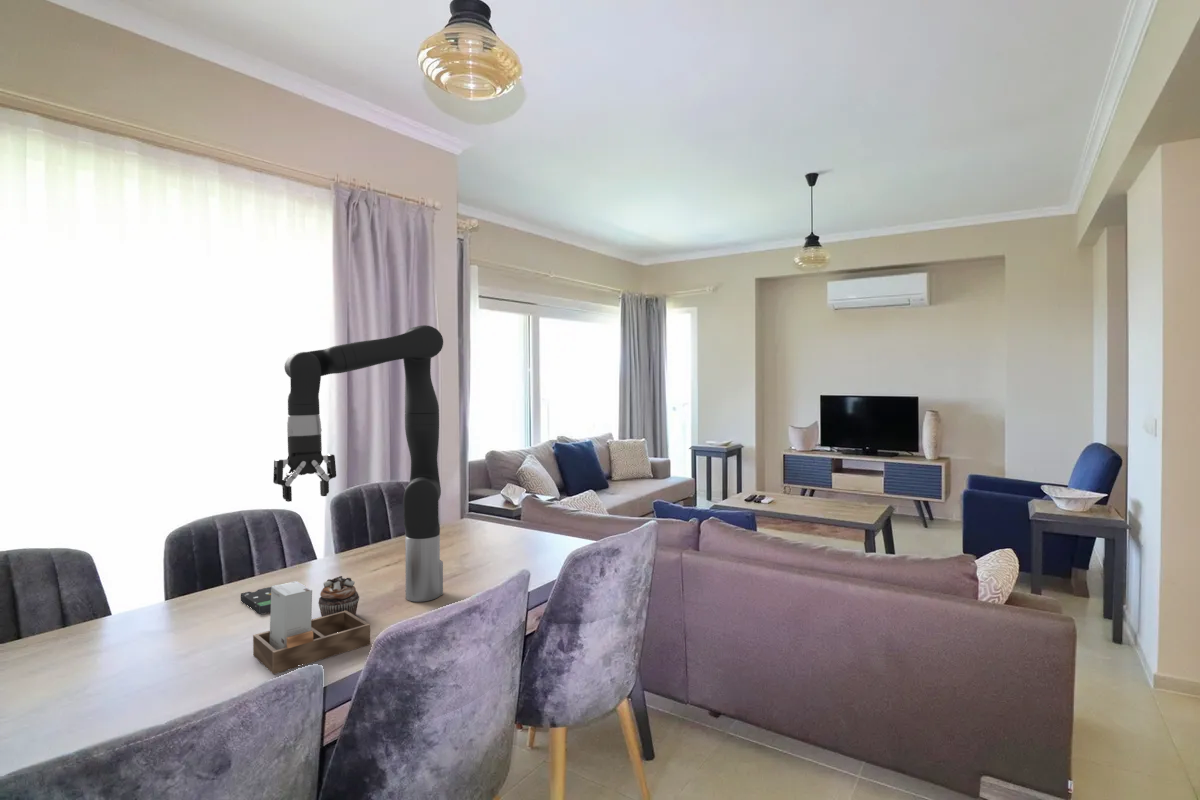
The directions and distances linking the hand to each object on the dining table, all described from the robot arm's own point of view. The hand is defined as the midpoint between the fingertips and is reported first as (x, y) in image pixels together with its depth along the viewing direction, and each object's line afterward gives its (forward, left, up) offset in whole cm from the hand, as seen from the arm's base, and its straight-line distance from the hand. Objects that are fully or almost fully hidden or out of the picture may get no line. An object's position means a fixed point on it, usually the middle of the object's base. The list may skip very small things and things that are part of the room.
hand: (306, 498), depth 152 cm
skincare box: (+10, +18, -31) cm, 37 cm away
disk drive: (+2, -21, -32) cm, 38 cm away
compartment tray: (+5, +18, -31) cm, 36 cm away
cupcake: (-7, +3, -31) cm, 32 cm away
